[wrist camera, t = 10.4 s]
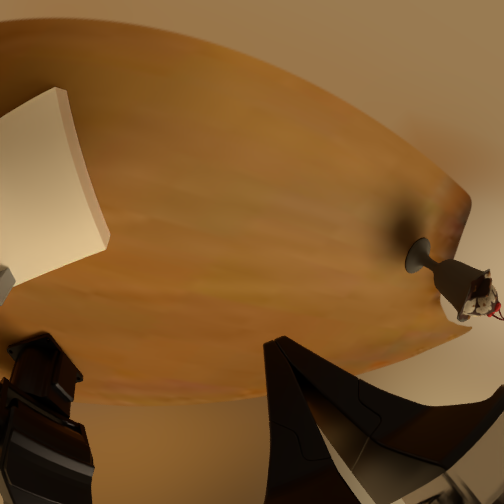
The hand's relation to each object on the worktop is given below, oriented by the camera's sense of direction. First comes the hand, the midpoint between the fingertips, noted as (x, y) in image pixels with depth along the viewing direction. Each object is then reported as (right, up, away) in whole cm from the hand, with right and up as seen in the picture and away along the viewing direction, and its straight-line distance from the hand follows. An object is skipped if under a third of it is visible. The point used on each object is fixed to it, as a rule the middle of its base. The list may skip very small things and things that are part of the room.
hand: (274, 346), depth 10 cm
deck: (-24, +5, +4) cm, 25 cm away
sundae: (+20, +3, +22) cm, 30 cm away
